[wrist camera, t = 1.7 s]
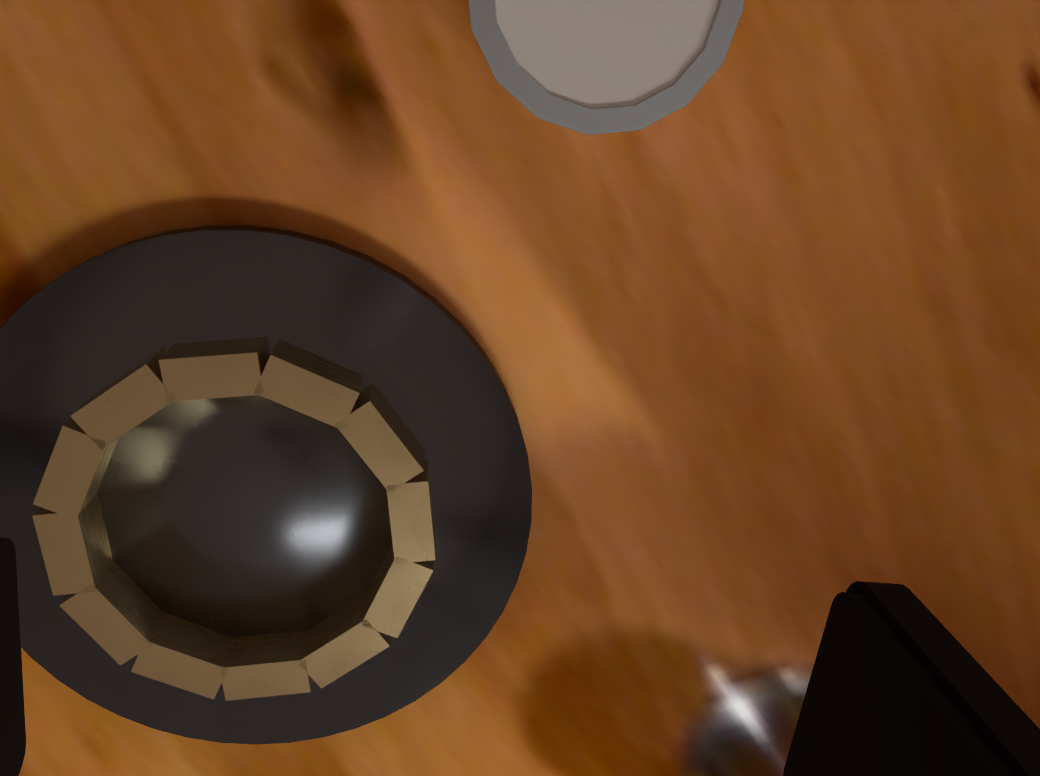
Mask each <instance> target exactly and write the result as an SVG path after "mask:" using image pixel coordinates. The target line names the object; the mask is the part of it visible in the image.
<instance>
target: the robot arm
mask: <svg viewBox="0 0 1040 776" xmlns="http://www.w3.org/2000/svg"><path fill="white" fill-rule="evenodd" d="M25 748H26V733H25V715H24V696H23V678H22V660H21V641H20V623H19V605H18V586H17V568H16V552H15V546H14V543H13V541H12V540H11V539H10V538H0V776H18V775H19V773H20V770H21V767H22V764H23V760H24V755H25ZM783 776H1040V729H1039V728H1038V727H1037V726H1036V725H1035V724H1034V723H1033V722H1032V720H1031V719H1030V718H1029V717H1028V716H1027V715H1026V714H1025V713H1024V712H1023V711H1022V710H1021V709H1020V708H1019V706H1018V705H1017V704H1016V703H1015V702H1014V701H1013V700H1012V699H1011V698H1010V697H1009V696H1008V695H1007V694H1006V693H1005V691H1004V690H1003V689H1002V688H1001V687H1000V686H999V685H998V684H997V683H996V682H995V681H994V680H993V679H992V677H991V676H990V675H989V674H988V673H987V672H986V671H985V670H984V669H983V668H982V667H981V666H980V665H979V664H978V662H977V661H976V660H975V659H974V658H973V657H972V656H971V655H970V654H969V653H968V652H967V651H966V650H965V648H964V647H963V646H962V645H961V644H960V643H959V642H958V641H957V640H956V639H955V638H954V637H953V636H952V635H951V633H950V632H949V631H948V630H947V629H946V628H945V627H944V626H943V625H942V624H941V623H940V622H939V621H938V620H937V618H936V617H935V616H934V615H933V614H932V613H931V612H930V611H929V610H928V609H927V608H926V607H925V606H924V604H923V603H922V602H921V601H920V600H919V599H918V598H917V597H916V596H915V595H914V594H913V593H912V592H911V591H910V589H908V588H907V587H906V586H904V585H900V584H890V583H875V582H860V581H857V582H854V583H852V584H851V585H850V586H849V588H848V589H847V590H846V592H841V593H839V594H837V595H836V597H835V598H834V600H833V602H832V605H831V608H830V612H829V615H828V619H827V622H826V626H825V629H824V633H823V636H822V639H821V643H820V646H819V650H818V653H817V657H816V660H815V664H814V667H813V670H812V674H811V677H810V681H809V684H808V688H807V691H806V695H805V698H804V702H803V705H802V708H801V712H800V715H799V719H798V722H797V726H796V729H795V733H794V736H793V739H792V743H791V746H790V750H789V753H788V757H787V760H786V764H785V768H784V774H783Z"/></svg>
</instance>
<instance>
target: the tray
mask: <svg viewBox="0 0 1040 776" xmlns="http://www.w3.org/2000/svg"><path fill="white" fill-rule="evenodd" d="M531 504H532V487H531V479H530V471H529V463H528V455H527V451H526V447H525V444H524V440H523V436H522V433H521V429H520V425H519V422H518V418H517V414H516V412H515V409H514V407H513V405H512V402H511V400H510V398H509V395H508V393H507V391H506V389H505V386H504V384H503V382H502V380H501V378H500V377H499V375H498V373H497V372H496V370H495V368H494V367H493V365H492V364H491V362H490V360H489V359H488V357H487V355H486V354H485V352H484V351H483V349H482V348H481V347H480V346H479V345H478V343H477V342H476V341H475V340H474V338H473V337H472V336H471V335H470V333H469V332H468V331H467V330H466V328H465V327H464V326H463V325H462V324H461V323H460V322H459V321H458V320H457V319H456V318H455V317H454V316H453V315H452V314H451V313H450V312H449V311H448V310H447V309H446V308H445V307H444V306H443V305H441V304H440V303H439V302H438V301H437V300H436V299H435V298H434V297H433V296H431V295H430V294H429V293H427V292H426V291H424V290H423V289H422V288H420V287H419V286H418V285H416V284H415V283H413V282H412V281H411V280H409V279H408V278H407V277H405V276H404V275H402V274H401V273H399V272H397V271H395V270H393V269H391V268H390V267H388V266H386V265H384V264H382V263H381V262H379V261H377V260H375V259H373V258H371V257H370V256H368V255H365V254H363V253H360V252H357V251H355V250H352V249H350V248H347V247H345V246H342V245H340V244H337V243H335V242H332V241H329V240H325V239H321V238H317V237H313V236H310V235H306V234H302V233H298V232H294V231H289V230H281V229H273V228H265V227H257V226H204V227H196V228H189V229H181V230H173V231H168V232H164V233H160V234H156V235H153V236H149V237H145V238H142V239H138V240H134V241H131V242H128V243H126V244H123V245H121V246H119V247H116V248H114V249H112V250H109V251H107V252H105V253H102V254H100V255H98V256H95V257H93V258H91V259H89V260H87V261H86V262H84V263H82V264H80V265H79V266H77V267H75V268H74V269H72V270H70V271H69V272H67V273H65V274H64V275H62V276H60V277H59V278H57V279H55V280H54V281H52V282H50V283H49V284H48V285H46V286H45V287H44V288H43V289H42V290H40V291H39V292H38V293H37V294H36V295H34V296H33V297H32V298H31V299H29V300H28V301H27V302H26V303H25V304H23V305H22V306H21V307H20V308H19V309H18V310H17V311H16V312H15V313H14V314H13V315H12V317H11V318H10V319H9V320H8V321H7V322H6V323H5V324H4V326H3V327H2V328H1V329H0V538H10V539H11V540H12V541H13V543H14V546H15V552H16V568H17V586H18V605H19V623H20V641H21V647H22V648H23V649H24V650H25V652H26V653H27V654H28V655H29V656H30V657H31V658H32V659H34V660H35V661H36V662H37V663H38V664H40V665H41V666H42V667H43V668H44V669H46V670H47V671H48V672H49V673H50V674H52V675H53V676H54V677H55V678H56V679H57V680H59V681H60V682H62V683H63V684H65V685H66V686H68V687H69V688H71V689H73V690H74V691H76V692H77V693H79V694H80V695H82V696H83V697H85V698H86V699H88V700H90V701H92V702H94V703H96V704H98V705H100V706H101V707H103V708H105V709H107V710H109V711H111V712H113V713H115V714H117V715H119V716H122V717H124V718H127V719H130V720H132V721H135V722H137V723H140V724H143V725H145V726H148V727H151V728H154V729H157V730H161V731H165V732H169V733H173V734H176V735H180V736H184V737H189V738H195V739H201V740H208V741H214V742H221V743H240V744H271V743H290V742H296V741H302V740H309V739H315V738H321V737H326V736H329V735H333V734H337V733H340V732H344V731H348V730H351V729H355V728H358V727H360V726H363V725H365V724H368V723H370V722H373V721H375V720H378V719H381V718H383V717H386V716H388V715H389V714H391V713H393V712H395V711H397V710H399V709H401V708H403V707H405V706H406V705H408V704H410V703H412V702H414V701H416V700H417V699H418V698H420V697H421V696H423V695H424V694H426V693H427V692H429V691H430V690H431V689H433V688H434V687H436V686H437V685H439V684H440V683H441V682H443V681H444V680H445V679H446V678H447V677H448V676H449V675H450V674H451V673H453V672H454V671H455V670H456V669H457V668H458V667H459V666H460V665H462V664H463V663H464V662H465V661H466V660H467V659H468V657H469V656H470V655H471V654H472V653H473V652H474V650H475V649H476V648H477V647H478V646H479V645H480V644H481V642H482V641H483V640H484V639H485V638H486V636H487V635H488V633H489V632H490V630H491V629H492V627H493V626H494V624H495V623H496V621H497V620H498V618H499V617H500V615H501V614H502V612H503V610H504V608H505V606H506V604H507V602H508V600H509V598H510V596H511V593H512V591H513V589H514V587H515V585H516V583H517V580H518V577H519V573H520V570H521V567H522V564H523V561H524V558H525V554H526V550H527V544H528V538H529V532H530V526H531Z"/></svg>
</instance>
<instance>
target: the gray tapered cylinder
mask: <svg viewBox="0 0 1040 776" xmlns="http://www.w3.org/2000/svg"><path fill="white" fill-rule="evenodd" d="M743 8H744V0H469V10H470V21H471V30H472V32H473V34H474V36H475V38H476V40H477V42H478V44H479V46H480V48H481V50H482V52H483V54H484V56H485V58H486V60H487V62H488V64H489V67H490V69H491V71H492V73H493V75H494V77H495V79H496V81H497V82H498V83H499V84H500V85H501V86H503V87H504V88H505V89H506V90H507V91H508V92H509V93H510V94H511V95H513V96H514V97H515V98H516V99H517V100H518V101H519V102H520V103H521V104H523V105H524V106H525V107H526V108H527V109H528V110H529V111H530V112H531V113H533V114H534V115H535V116H536V117H537V118H539V119H542V120H545V121H548V122H551V123H554V124H557V125H560V126H563V127H566V128H569V129H571V130H574V131H577V132H580V133H583V134H586V135H592V134H603V133H615V132H626V131H638V130H641V129H643V128H645V127H647V126H649V125H650V124H652V123H654V122H656V121H658V120H660V119H662V118H664V117H666V116H667V115H669V114H671V113H673V112H675V111H677V110H679V109H681V108H683V107H684V106H686V105H687V104H688V103H689V102H690V101H691V100H692V99H693V97H694V96H695V95H696V94H697V93H698V92H699V90H700V89H701V88H702V87H703V86H704V85H705V83H706V82H707V81H708V80H709V79H710V78H711V76H712V75H713V74H714V73H715V72H716V71H717V69H718V68H719V67H720V66H721V65H722V64H723V62H724V60H725V57H726V54H727V52H728V49H729V46H730V44H731V41H732V38H733V35H734V33H735V30H736V27H737V25H738V22H739V19H740V17H741V14H742V11H743Z"/></svg>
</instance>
